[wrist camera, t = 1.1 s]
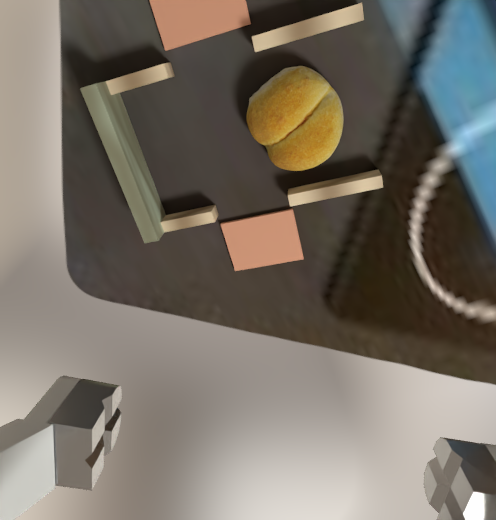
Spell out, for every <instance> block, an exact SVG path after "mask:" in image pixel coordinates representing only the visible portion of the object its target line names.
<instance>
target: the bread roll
mask: <svg viewBox="0 0 496 520" xmlns="http://www.w3.org/2000/svg"><path fill="white" fill-rule="evenodd" d="M246 118H247V123H248V127H249V130H250V132H251V134H252V136H253V137H254V138H255V139H256V141H257V142H259V143H261V144H262V145H265V147H266V148H267V151H268V156H269V158H270V160H271V161H272V162H273V163H274V164H275V165H276V166H278V167H280V168H282V169H286V170H291V171H302V170H306V169H310V168H313V167H316V166H318V165H320V164H321V163H323V162H324V161H325V160H327V159H328V158H329V157H330V156H331V155H332V153H333V152H334V150H335V149H336V147H337V145H338V143H339V140H340V137H341V134H342V129H343V109H342V105H341V101H340V99H339V97H338V95H337V93H336V92H335V90H334V89H333V88H332V87H331V86H330V84H329V83H328V82H327V81H326V80H325V78H324V77H322V76H321V75H320V74H319V73H317V72H316V71H314V70H312V69H310V68H308V67H305V66H296V67H290V68H284V69H283V70H282V71H280V72H279V73H278V74H276V75H275V76H273V77H272V78H271V79H270V80H269V81H268V82H267V83H265V84H263V86H261V87H260V89H259V90H258V91H257V92H255V93H254V94H253V96H252V97H250V98H249V106H248V110H247V117H246Z"/></svg>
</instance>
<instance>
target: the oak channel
mask: <svg viewBox="0 0 496 520" xmlns="http://www.w3.org/2000/svg"><path fill="white" fill-rule="evenodd" d="M362 20H364V16H363V7H362V3H360V4H356V5H353V6H350V7H347V8H343V9H340V10H337V11H333V12H330V13H327V14H324V15H320V16H317V17H314V18H311V19H307V20H304V21H301V22H298V23H294V24H291V25H288V26H285V27H281V28H278V29H275V30H272V31H268V32H265V33H262V34H258V35H255V36H252V41H253V45H254V49H255V52H258V51H261V50H265V49H268V48H271V47H275V46H278V45H282V44H285V43H288V42H292V41H295V40H298V39H302V38H305V37H308V36H312V35H315V34H319V33H322V32H325V31H329V30H332V29H335V28H339V27H342V26H345V25H349V24H352V23H356V22H359V21H362ZM170 77H174V72H173V69H172V66H171V63H164V64H161V65H157V66H154V67H151V68H148V69H144V70H141V71H138V72H135V73H131V74H128V75H125V76H122V77H118V78H115V79H112V80H108V81H105V82H100V83H96V84H92V85H89V86H86V87H83V88H80V90H81V92H82V95H83V97H84V99H85V102H86V104H87V107H88V109H89V111H90V114H91V116H92V119H93V121H94V123H95V126H96V128H97V131H98V133H99V135H100V138H101V140H102V142H103V145H104V147H105V150H106V152H107V154H108V157H109V159H110V162H111V164H112V166H113V169H114V171H115V174H116V176H117V178H118V181H119V183H120V185H121V188H122V190H123V193H124V195H125V197H126V200H127V202H128V205H129V207H130V209H131V212H132V214H133V217H134V219H135V221H136V224H137V226H138V228H139V231H140V233H141V236H142V238H143V240H144V243H148V242H153V241H158V240H159V239H160V238H161V236H162V235H163V234H164V232H168V231H173V230H178V229H183V228H188V227H193V226H198V225H203V224H207V223H212V222H215V221H216V219H217V217H218V212H217V209H216V205H211V206H206V207H201V208H197V209H192V210H188V211H183V212H178V213H174V214H169V215H166V214H165V211H164V209H163V206H162V203H161V201H160V198H159V195H158V193H157V190H156V188H155V185H154V182H153V180H152V177H151V174H150V172H149V169H148V166H147V164H146V161H145V159H144V156H143V153H142V151H141V148H140V145H139V143H138V140H137V137H136V135H135V132H134V130H133V127H132V124H131V122H130V119H129V116H128V114H127V111H126V108H125V106H124V103H123V101H122V98H121V95H120V92H123V91H127V90H130V89H133V88H137V87H140V86H144V85H147V84H150V83H154V82H157V81H160V80H164V79H167V78H170ZM378 188H383V182H382V175H381V173H380V172H379V170H373V171H369V172H364V173H359V174H355V175H350V176H345V177H341V178H336V179H332V180H327V181H322V182H318V183H313V184H308V185H304V186H299V187H294V188H290V189H288V199H289V203H290V206H295V205H300V204H305V203H310V202H315V201H320V200H324V199H329V198H334V197H339V196H344V195H349V194H354V193H359V192H363V191H368V190H373V189H378Z"/></svg>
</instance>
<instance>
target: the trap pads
mask: <svg viewBox="0 0 496 520" xmlns="http://www.w3.org/2000/svg"><path fill="white" fill-rule="evenodd" d="M149 1H150V4H151V7H152V10H153V13H154V17H155V20H156V23H157V26H158V29H159V32H160V35H161V39H162V42H163V45H164V48H165V51H167V50H170V49H173V48H176V47H180V46H183V45H186V44H189V43H192V42H195V41H199V40H202V39H205V38H208V37H211V36H215V35H218V34H221V33H224V32H227V31H230V30H234V29H237V28H240V27H243V26H246V25H250V24H251V21H250V17H249V12H248V8H247V3H246V0H149ZM220 225H221V228H222V231H223V234H224V237H225V240H226V244H227V247H228V250H229V253H230V256H231V259H232V262H233V266H234V269H235V271H239V270H244V269H250V268H256V267H261V266H267V265H273V264H279V263H284V262H290V261H296V260H302V259H304V257H303V252H302V248H301V243H300V239H299V234H298V230H297V226H296V221H295V217H294V212H293V208H292V209H287V210H282V211H277V212H272V213H267V214H263V215H258V216H253V217H248V218H243V219H238V220H233V221H228V222H223V223H221V224H220Z"/></svg>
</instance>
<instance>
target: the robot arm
mask: <svg viewBox="0 0 496 520" xmlns="http://www.w3.org/2000/svg"><path fill="white" fill-rule="evenodd" d="M121 399H122V388H121V387H120V386H119V385H114V384H107V383H103V382H97V381H92V380H86V379H79V378H73V377H68V376H62V377H60V378H58V379H57V380H56V382H55V383H54V384H53V385H52V386H51V388H50V389H49V390H48V391H47V392H46V394H45V395H44V396H43V397H42V398H41V400H40V401H39V402H38V403H37V404H36V406H35V407H34V408H33V409H32V411H31V412H30V413H29V414H28V415H27V417H26V418H25V419H24V420H23V419H16V420H14V421H12V422H10V423H8V424H6V425H4V426H2V427H0V520H15V519H16V518H17V517H19V516H20V515H21V514H23V513H24V512H25V511H26V510H28V509H29V508H30V507H32V506H33V505H34V504H35V503H37V502H38V501H39V500H41V499H42V498H43V497H44V496H46V495H47V494H48V493H49V492H50V491H52V490H53V489H55V486H63V487H70V488H78V489H85V490H92V489H93V487H94V485H95V483H96V481H97V479H98V477H99V475H100V473H101V471H102V469H103V467H104V456H105V455H106V454H108V453H109V452H111V451H112V449H113V446H114V444H115V442H116V439H117V436H118V433H119V429H120V423H121V412H120V410H119V409H118V408H117V407H118V405H119V403H120V401H121ZM433 450H434V452H435V454H436V456H437V457H436V458H434V459H432V460H431V461H430V462H428V463H427V466H426V470H425V472H424V488H425V493H426V496H427V499H428V501H429V504H430V505H431V506H432V507H433V508H434V509H435V510H436V511H437V512H438V513H439V515H438V518H437V520H496V445H491V444H483V443H480V444H479V443H474V442H468V441H461V440H455V439H448V438H441V437H440V438H439V439H438V440H437V441H436V444H435V446H434V448H433Z"/></svg>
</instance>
